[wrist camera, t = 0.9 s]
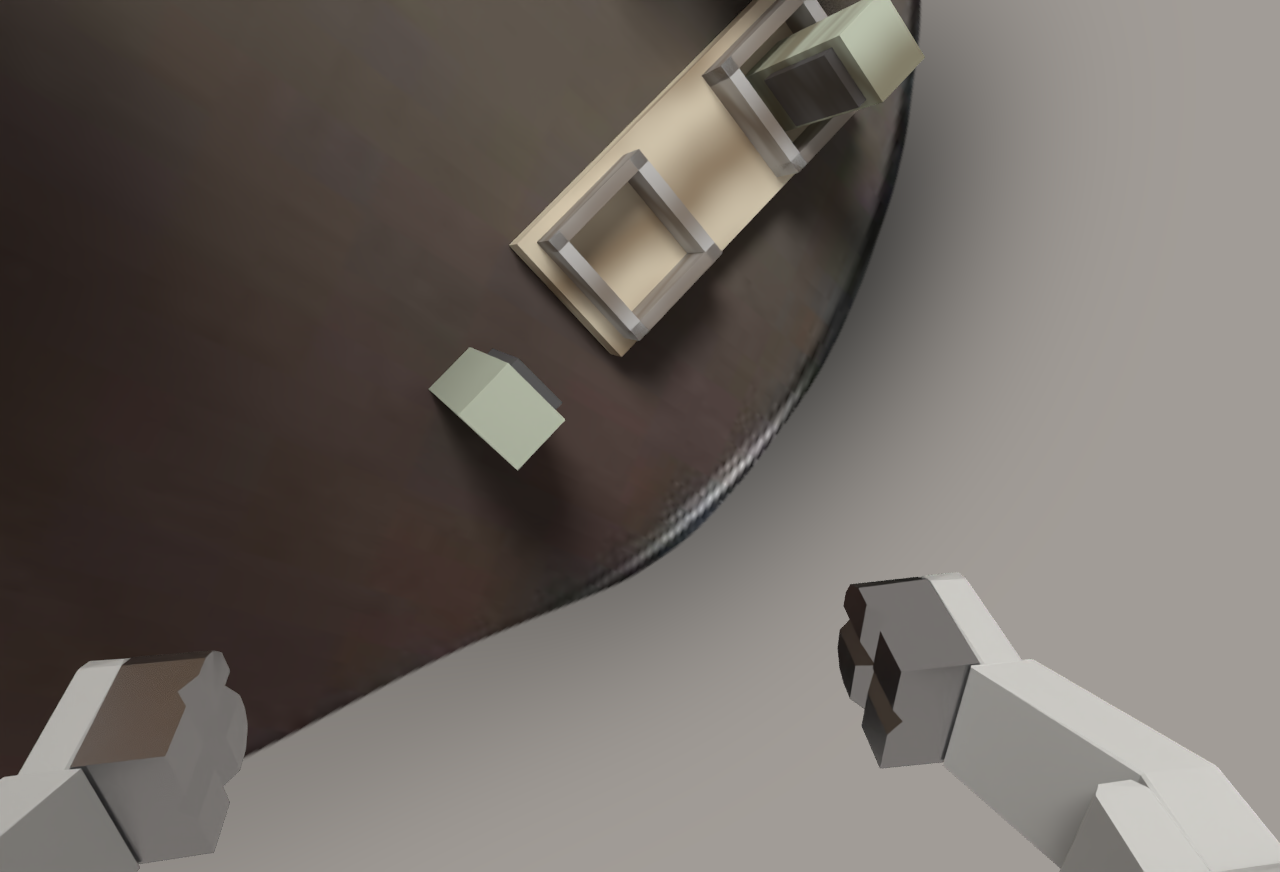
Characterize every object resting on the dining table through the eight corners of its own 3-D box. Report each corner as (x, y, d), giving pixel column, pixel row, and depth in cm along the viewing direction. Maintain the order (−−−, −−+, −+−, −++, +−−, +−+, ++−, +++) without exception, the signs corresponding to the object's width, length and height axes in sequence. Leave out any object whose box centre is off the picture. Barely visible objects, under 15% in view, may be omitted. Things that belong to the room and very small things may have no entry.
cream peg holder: (508, 245, 49) (569, 236, 38) (767, -15, 52) (892, -94, 41) (610, 354, 52) (692, 374, 41) (847, 104, 55) (982, 61, 44)
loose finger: (428, 389, 48) (457, 415, 39) (477, 339, 49) (517, 354, 40) (478, 434, 50) (517, 470, 41) (524, 386, 51) (573, 411, 41)
